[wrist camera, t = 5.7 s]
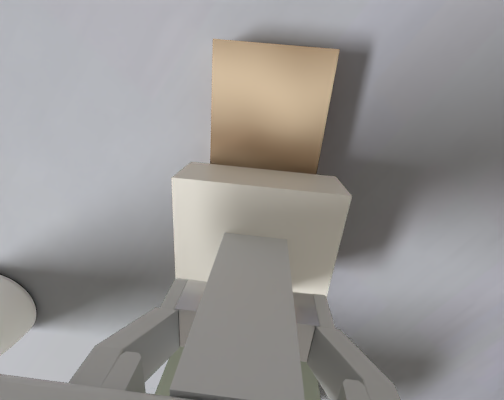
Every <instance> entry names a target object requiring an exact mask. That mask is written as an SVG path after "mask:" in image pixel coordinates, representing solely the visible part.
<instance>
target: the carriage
mask: <svg viewBox="0 0 504 400" xmlns="http://www.w3.org/2000/svg"><path fill="white" fill-rule="evenodd" d="M171 180H172V204H173V229H174V253H175V278H181V279H188V280H189V279H190V280H197V281H205V282H207V284H206V287H205V289H204V292H203V295H202V298H201V301H200V304H199V307H198V309H197V312H196V315H195V318H194V321H193V324H192V326H191V329H190V332H189V335H188V338H187V341H186V343H185V346H184V349H183V352H182V355H181V358H180V360H179V363H178V366H177V369H176V372H175V375H174V378H173V380H172V383H171V386H170V389H169V391H170V396H171V397H178V398H186V399H193V400H305V398H304V389H303V380H302V371H301V362H300V353H299V344H298V335H297V326H296V317H295V308H294V299H293V292H299V293H308V294H321V295H325V296H326V297H327V293H328V289H329V285H330V281H331V278H332V274H333V270H334V266H335V262H336V258H337V254H338V250H339V246H340V242H341V238H342V234H343V230H344V226H345V222H346V218H347V215H348V211H349V207H350V203H351V199H352V195H351V194H350V193H349V192H348V191H347V189H346V188H345V187H344V186H343V185H342V183H341V182H340V181H339V180H338V179H337V177H336V176H327V175H317V174H307V173H297V172H287V171H277V170H267V169H257V168H247V167H237V166H227V165H217V164H207V163H197V162H191V163H189V164H188V165H187V166H185V167H184V168H183V169H182V170H180V171H179V172H178V173H177V174H175V175H174V176H173V177H171Z"/></svg>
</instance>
